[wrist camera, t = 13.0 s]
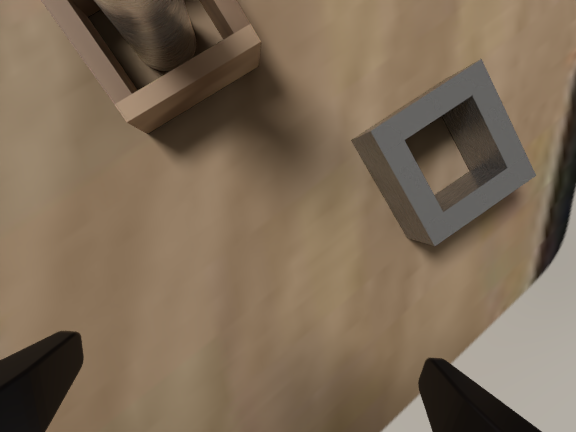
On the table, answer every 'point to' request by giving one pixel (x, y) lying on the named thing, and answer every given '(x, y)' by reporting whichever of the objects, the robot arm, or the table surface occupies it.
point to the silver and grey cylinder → (154, 30)
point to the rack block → (175, 84)
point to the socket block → (470, 141)
